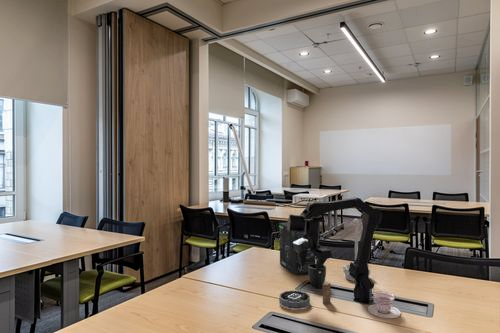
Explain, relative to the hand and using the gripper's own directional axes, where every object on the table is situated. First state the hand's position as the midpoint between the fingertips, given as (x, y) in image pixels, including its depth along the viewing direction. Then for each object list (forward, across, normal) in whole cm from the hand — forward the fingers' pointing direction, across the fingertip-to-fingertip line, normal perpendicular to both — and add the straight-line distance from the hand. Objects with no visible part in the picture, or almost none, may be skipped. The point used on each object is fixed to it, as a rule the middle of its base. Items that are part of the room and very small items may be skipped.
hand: (309, 269), depth 141 cm
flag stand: (+12, -9, +41) cm, 44 cm away
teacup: (+12, +23, +19) cm, 32 cm away
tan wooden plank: (+13, +4, +6) cm, 16 cm away
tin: (+14, -2, -5) cm, 15 cm away
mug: (+14, -10, +15) cm, 23 cm away
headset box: (+14, -38, +26) cm, 48 cm away
